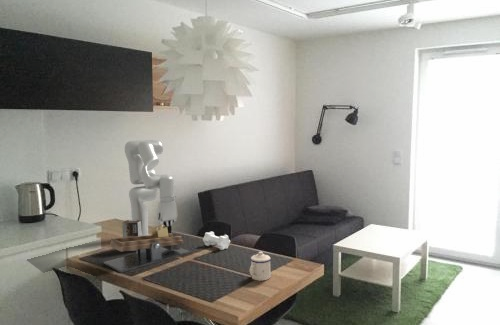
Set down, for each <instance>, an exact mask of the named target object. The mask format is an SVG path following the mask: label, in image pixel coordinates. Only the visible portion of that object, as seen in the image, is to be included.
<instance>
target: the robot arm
mask: <svg viewBox="0 0 500 325" xmlns="http://www.w3.org/2000/svg"><path fill="white" fill-rule="evenodd" d="M163 151H164V146H163V144H162V142H161V141H160V140H158V139H157V140H153V139H142V140H141V139H140V140H139V139H137V140H130V141H126V143H125V145H124V155H125V157H126V160H127V161H128V170H129V180H130V183H131V185H136V186H135V187H132V188H130V189H129V191H128V199H129V202H130V210H131V212H130V214H131V220H142V236H146V235H152V233H149V223H148V222H149V221H148V219H149V217H148V207H147V206H146V204H144V202H150V201H156V200H157V199H158V197H159V202H158V205H157V221H158V223H159V224H160V225H163V226H165V227H167V229H168V234H169V233H172V226H173V224H174V222H176V221H177V220H178V219H177V218H178V208H177V202H176V201H175V199H176V198H177V197H176V195H175V185H174V184H175V183H174V182H175V181H174V177H173V176H171V175H168V174H157V172H156V171H155V167H156V166H158V165H159V163H160V161H159V160H160V159H159V157H158V155H161V154H163ZM137 185H141V186H137ZM158 189H159V190H158Z"/></svg>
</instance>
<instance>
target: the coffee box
mask: <svg viewBox="0 0 500 325" xmlns="http://www.w3.org/2000/svg"><path fill="white" fill-rule="evenodd" d="M121 226H122V227H121V228H122V238H125V237H136V236H142V220H132V219H125V220H124V221H123V222H122V224H121ZM129 252H136V250H130V251H129Z"/></svg>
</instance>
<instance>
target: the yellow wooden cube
mask: <svg viewBox="0 0 500 325" xmlns="http://www.w3.org/2000/svg"><path fill="white" fill-rule="evenodd" d="M150 229H151V235H153V239H156V238H166V237H169V235H168V229H167V227H165V226H164V224H160V225H157V226H154V227H153V228H150Z"/></svg>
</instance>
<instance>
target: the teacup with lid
mask: <svg viewBox="0 0 500 325" xmlns="http://www.w3.org/2000/svg"><path fill="white" fill-rule="evenodd" d="M271 260H272V258H271V257H270V255H268V254H265V253H264V252H263V251H258V253H257V254H253V255H252V256H251V257H250V267H249V274H250V275H251V276H250V278H251V279H252V280H254V281H259V282H260V281H268V280H269V279H270V278H271Z"/></svg>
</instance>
